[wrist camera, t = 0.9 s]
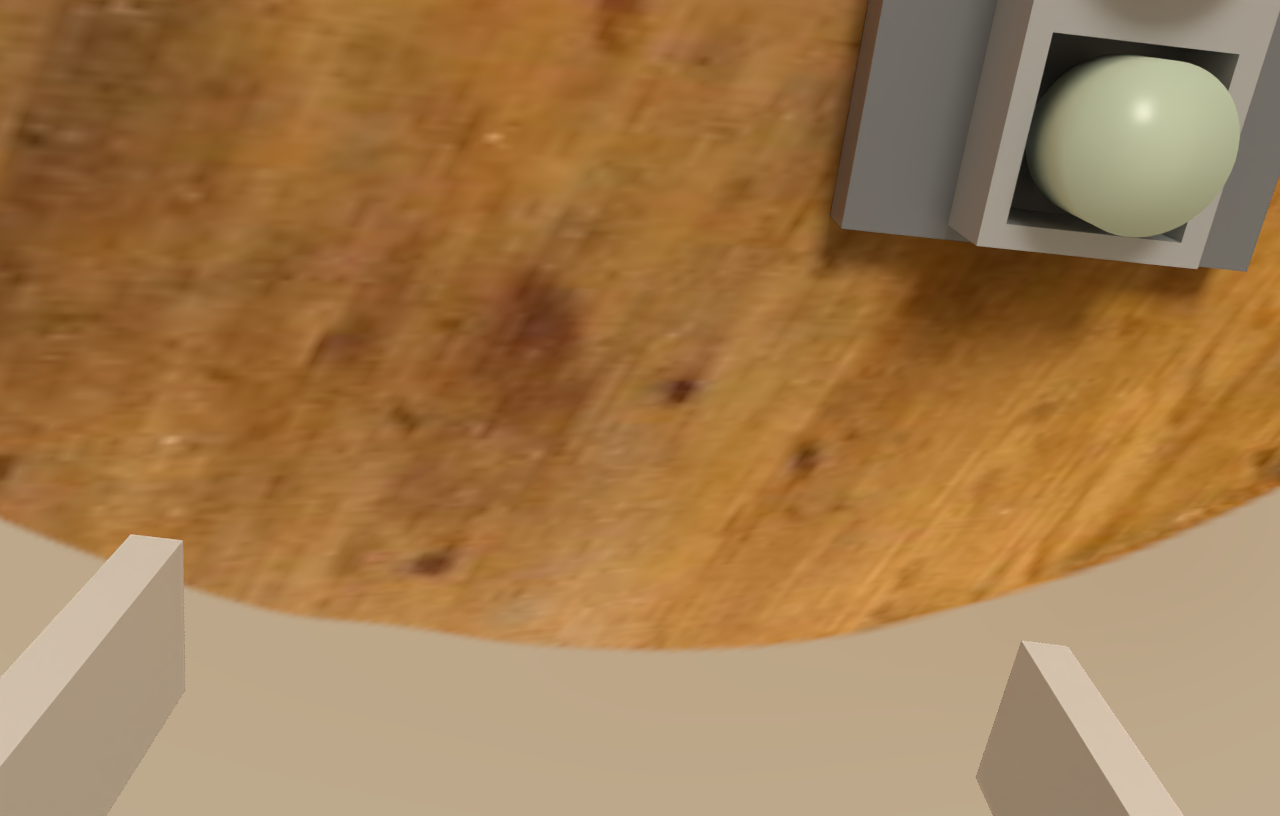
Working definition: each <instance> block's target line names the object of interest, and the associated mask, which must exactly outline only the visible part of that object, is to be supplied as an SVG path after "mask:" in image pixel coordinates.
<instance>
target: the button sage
mask: <svg viewBox="0 0 1280 816" xmlns="http://www.w3.org/2000/svg"><path fill="white" fill-rule="evenodd" d="M1239 140H1240V125H1239V118H1238V113H1237V110H1236V106H1235V104H1234V101H1233V99H1232V97H1231V95H1230V94H1229V92H1228V91H1227V89H1226V88H1225V86H1224V85H1223V84H1222V83H1221V82H1220V81H1219V80H1218V79H1217V78H1216V77H1215V76H1214V75H1212V74H1211V73H1210V72H1208V71H1206V70H1204V69H1203V68H1201V67H1199V66H1196V65H1193V64H1190V63H1186V62H1181V61H1175V60H1167V59H1160V58H1153V57H1145V56H1138V55H1131V54H1107V55H1102V56H1098V57H1094V58H1092V59H1089V60H1086V61H1084V62H1082V63H1080V64H1078V65H1076V66H1074V67H1073V68H1071V69H1070V70H1068V71H1067V72H1065V73H1064V74H1063V75H1062V76H1061V77H1059V78H1058V79H1057V80H1056V81H1055V82H1054V83H1053V84H1052V85H1051V86H1050V87H1049V88H1048V90H1047V91H1046V92H1045V94H1044V95H1043V96H1042V98H1041V100H1040V101H1039V103H1038V105H1037V106H1036V108H1035V111H1034V113H1033V116H1032V121H1031V125H1030V129H1029V133H1028V137H1027V141H1026V160H1027V165H1028V169H1029V172H1030V175H1031V178H1032V180H1033V182H1034V183H1035V185H1036V187H1037V188H1038V190H1039V191H1040V192H1041V194H1042V195H1043V196H1044V197H1045V198H1046V199H1047V200H1048V201H1050V202H1051V203H1052V204H1054V205H1055V206H1057V207H1059V208H1061V209H1063V210H1065V211H1067V212H1069V213H1071V214H1072V215H1074V216H1076V217H1078V218H1080V219H1082V220H1084V221H1086V222H1088V223H1090V224H1092V225H1094V226H1096V227H1098V228H1100V229H1102V230H1104V231H1106V232H1109V233H1112V234H1115V235H1119V236H1124V237H1149V236H1154V235H1158V234H1162V233H1165V232H1168V231H1171V230H1173V229H1175V228H1177V227H1179V226H1181V225H1183V224H1185V223H1186V222H1188V221H1189V220H1191V219H1193V218H1194V217H1195V216H1196V215H1198V214H1199V213H1200V212H1202V211H1203V210H1204V209H1205V208H1206V207H1207V206H1208V205H1209V204H1210V203H1211V202H1212V201H1213V199H1214V198H1215V197H1216V196H1217V195H1218V193H1219V192H1220V190H1221V189H1222V187H1223V186H1224V184H1225V183H1226V181H1227V179H1228V177H1229V175H1230V173H1231V171H1232V168H1233V166H1234V163H1235V160H1236V156H1237V152H1238V147H1239Z"/></svg>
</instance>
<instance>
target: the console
mask: <svg viewBox="0 0 1280 816" xmlns="http://www.w3.org/2000/svg"><path fill="white" fill-rule="evenodd" d="M1107 54H1131V55H1138V56H1145V57H1153V58H1160V59H1167V60H1175V61H1181V62H1186V63H1190V64H1193V65H1196V66H1199V67H1201V68H1203V69H1204V70H1206V71H1208V72H1210V73H1211V74H1212V75H1214V76H1215V77H1216V78H1217V79H1218V80H1219V81H1220V82H1221V83H1222V84H1223V85H1224V86H1225V88H1226V89H1227V91H1228V92H1229V94H1230V95H1231V97H1232V99H1233V101H1234V104H1235V106H1236V110H1237V113H1238V118H1239V125H1240V140H1239V147H1238V152H1237V156H1236V160H1235V163H1234V166H1233V168H1232V171H1231V173H1230V175H1229V177H1228V179H1227V181H1226V183H1225V184H1224V186H1223V187H1222V189H1221V190H1220V192H1219V193H1218V195H1217V196H1216V197H1215V198H1214V199H1213V201H1212V202H1211V203H1210V204H1209V205H1208V206H1207V207H1206V208H1205V209H1204V210H1203V211H1202V212H1200V213H1199V214H1198V215H1196V216H1195V217H1194V218H1193V219H1191V220H1189V221H1188V222H1186V223H1185V224H1183V225H1181V226H1179V227H1177V228H1175V229H1173V230H1171V231H1168V232H1165V233H1162V234H1158V235H1154V236H1149V237H1124V236H1119V235H1115V234H1112V233H1109V232H1106V231H1104V230H1102V229H1100V228H1098V227H1096V226H1094V225H1092V224H1090V223H1088V222H1086V221H1084V220H1082V219H1080V218H1078V217H1076V216H1074V215H1072V214H1071V213H1069V212H1067V211H1065V210H1063V209H1061V208H1059V207H1057V206H1055V205H1054V204H1052V203H1051V202H1050V201H1048V200H1047V199H1046V198H1045V197H1044V196H1043V195H1042V194H1041V192H1040V191H1039V190H1038V188H1037V187H1036V185H1035V183H1034V182H1033V180H1032V178H1031V175H1030V172H1029V169H1028V165H1027V160H1026V141H1027V137H1028V133H1029V129H1030V125H1031V121H1032V116H1033V113H1034V111H1035V108H1036V106H1037V105H1038V103H1039V101H1040V100H1041V98H1042V96H1043V95H1044V94H1045V92H1046V91H1047V90H1048V88H1049V87H1050V86H1051V85H1052V84H1053V83H1054V82H1055V81H1056V80H1057V79H1058V78H1059V77H1061V76H1062V75H1063V74H1064V73H1065V72H1067V71H1068V70H1070V69H1071V68H1073V67H1074V66H1076V65H1078V64H1080V63H1082V62H1084V61H1086V60H1089V59H1092V58H1094V57H1098V56H1102V55H1107ZM1279 174H1280V0H869V1H868V7H867V13H866V18H865V24H864V29H863V35H862V41H861V46H860V52H859V57H858V63H857V68H856V74H855V80H854V85H853V91H852V96H851V102H850V108H849V113H848V119H847V124H846V130H845V135H844V141H843V147H842V152H841V158H840V163H839V169H838V175H837V180H836V186H835V191H834V197H833V203H832V208H831V214H830V217H831V218H832V219H833V220H834V221H835V222H836V223H837V224H838V226H839V227H840V228H841V229H849V230H859V231H868V232H878V233H887V234H896V235H906V236H915V237H925V238H934V239H944V240H953V241H963V242H972V243H973V244H975V245H976V246H983V247H992V248H1002V249H1011V250H1021V251H1030V252H1040V253H1049V254H1058V255H1068V256H1077V257H1087V258H1096V259H1106V260H1115V261H1125V262H1134V263H1143V264H1153V265H1162V266H1172V267H1181V268H1191V269H1198V267H1208V268H1217V269H1227V270H1236V271H1245V272H1247V269H1248V266H1249V263H1250V260H1251V257H1252V254H1253V251H1254V248H1255V245H1256V242H1257V239H1258V236H1259V234H1260V231H1261V228H1262V225H1263V222H1264V219H1265V216H1266V213H1267V210H1268V207H1269V204H1270V201H1271V198H1272V195H1273V192H1274V189H1275V186H1276V183H1277V180H1278V177H1279Z"/></svg>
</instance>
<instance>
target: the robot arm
mask: <svg viewBox="0 0 1280 816" xmlns="http://www.w3.org/2000/svg"><path fill="white" fill-rule="evenodd" d="M184 649H185V645H184V579H183V540H175V539H166V538H158V537H149V536H141V535H133V534H131V535H130V536H129V537H128V538H127V539H126V540H125V541H124V543H123V544H122V545H121V546H120V547H119V548H118V549H117V550H116V551H115V552H114V553H113V555H112V556H111V557H110V558H109V559H108V560H107V561H106V562H105V563H104V564H103V565H102V567H101V568H100V569H99V570H98V571H97V572H96V573H95V574H94V575H93V576H92V578H91V579H90V580H89V581H88V582H87V583H86V584H85V585H84V586H83V588H82V589H81V590H80V591H79V592H78V593H77V594H76V595H75V596H74V597H73V599H71V601H70V602H69V603H68V604H67V605H66V606H65V607H64V608H63V609H62V610H61V612H60V613H59V614H58V615H57V616H56V617H55V618H54V619H53V620H52V621H51V622H50V624H49V625H48V626H47V627H46V628H45V629H44V630H43V631H42V632H41V633H40V635H39V636H38V637H37V638H36V639H35V640H34V641H33V642H32V643H31V645H29V647H28V648H27V649H26V650H25V651H24V652H23V653H22V654H21V655H20V656H19V657H18V659H17V660H16V661H15V662H14V663H13V664H12V665H11V666H10V667H9V668H8V669H7V671H6V672H5V673H4V674H3V675H2V676H1V677H0V816H106V815H107V814H108V812H109V811H110V809H111V808H112V806H113V804H114V803H115V801H116V800H117V798H118V796H119V795H120V793H121V792H122V790H123V789H124V787H125V785H126V784H127V782H128V780H129V779H130V777H131V775H132V774H133V772H134V771H135V769H136V768H137V766H138V765H139V763H140V762H141V760H142V758H143V757H144V755H145V754H146V752H147V750H148V749H149V747H150V746H151V744H152V743H153V741H154V739H155V738H156V736H157V734H158V733H159V731H160V730H161V728H162V727H163V725H164V723H165V722H166V720H167V719H168V717H169V716H170V714H171V712H172V711H173V709H174V707H175V706H176V704H177V703H178V701H179V700H180V698H181V696H182V695H183V693H184V692H185V652H184V651H185V650H184ZM976 779H977V781H978V783H979V785H980V788H981V790H982V792H983V794H984V797H985V799H986V801H987V803H988V805H989V808H990V810H991V812H992V814H993V816H1183V814H1182V813H1181V811H1180V810H1179V808H1178V807H1177V805H1176V804H1175V802H1174V801H1173V799H1172V798H1171V797H1170V795H1169V794H1168V792H1167V791H1166V789H1165V788H1164V786H1163V785H1162V783H1161V782H1160V780H1159V779H1158V778H1157V776H1156V775H1155V773H1154V772H1153V770H1152V769H1151V767H1150V766H1149V764H1148V763H1147V762H1146V760H1145V759H1144V757H1143V756H1142V754H1141V753H1140V751H1139V750H1138V748H1137V747H1136V745H1135V744H1134V742H1133V741H1132V740H1131V738H1130V737H1129V735H1128V734H1127V732H1126V731H1125V729H1124V728H1123V726H1122V725H1121V724H1120V722H1119V721H1118V719H1117V718H1116V716H1115V715H1114V714H1113V712H1112V710H1111V709H1110V708H1109V706H1108V705H1107V703H1106V702H1105V700H1104V699H1103V697H1102V696H1101V694H1100V693H1099V691H1098V690H1097V688H1096V687H1095V686H1094V684H1093V683H1092V681H1091V680H1090V678H1089V677H1088V675H1087V674H1086V673H1085V671H1084V669H1083V668H1082V667H1081V665H1080V664H1079V662H1078V661H1077V659H1076V658H1075V656H1074V655H1073V653H1072V652H1071V650H1070V649H1069V648H1068V646H1062V645H1054V644H1046V643H1037V642H1029V641H1021V643H1020V646H1019V649H1018V653H1017V656H1016V658H1015V662H1014V664H1013V667H1012V670H1011V673H1010V676H1009V679H1008V683H1007V685H1006V689H1005V691H1004V695H1003V697H1002V700H1001V703H1000V706H999V710H998V712H997V715H996V718H995V721H994V724H993V727H992V730H991V734H990V736H989V739H988V742H987V745H986V749H985V751H984V754H983V758H982V760H981V763H980V767H979V769H978V772H977V775H976Z"/></svg>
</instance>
